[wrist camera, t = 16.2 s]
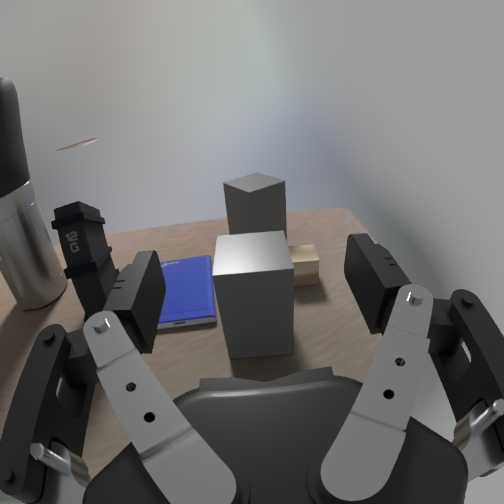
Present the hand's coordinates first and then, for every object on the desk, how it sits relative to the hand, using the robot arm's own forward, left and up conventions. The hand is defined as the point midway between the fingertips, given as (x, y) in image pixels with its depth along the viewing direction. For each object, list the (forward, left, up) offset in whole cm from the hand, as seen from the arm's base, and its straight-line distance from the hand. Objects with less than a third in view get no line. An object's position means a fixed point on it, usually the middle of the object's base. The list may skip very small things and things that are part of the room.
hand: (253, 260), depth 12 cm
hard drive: (+3, +20, -17) cm, 26 cm away
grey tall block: (+17, +23, -16) cm, 32 cm away
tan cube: (+16, +13, -16) cm, 26 cm away
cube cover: (+6, +9, -16) cm, 19 cm away
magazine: (-6, +25, -16) cm, 30 cm away
